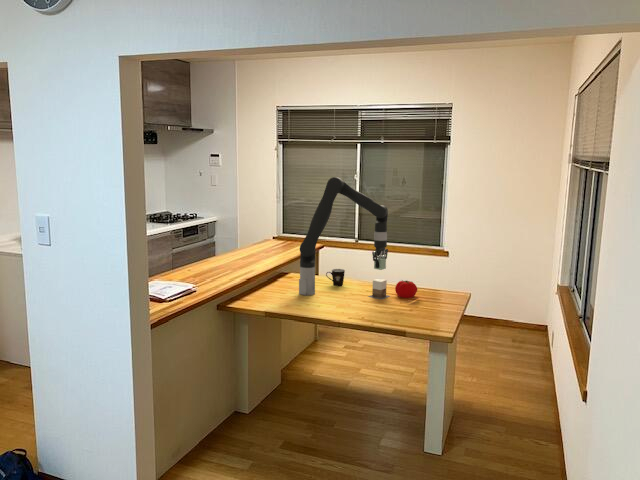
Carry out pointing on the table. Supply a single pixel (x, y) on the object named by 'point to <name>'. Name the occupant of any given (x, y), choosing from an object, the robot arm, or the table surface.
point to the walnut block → (378, 293)
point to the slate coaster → (379, 298)
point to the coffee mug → (337, 276)
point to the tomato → (405, 289)
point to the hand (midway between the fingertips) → (379, 267)
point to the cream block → (379, 284)
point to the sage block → (381, 264)
